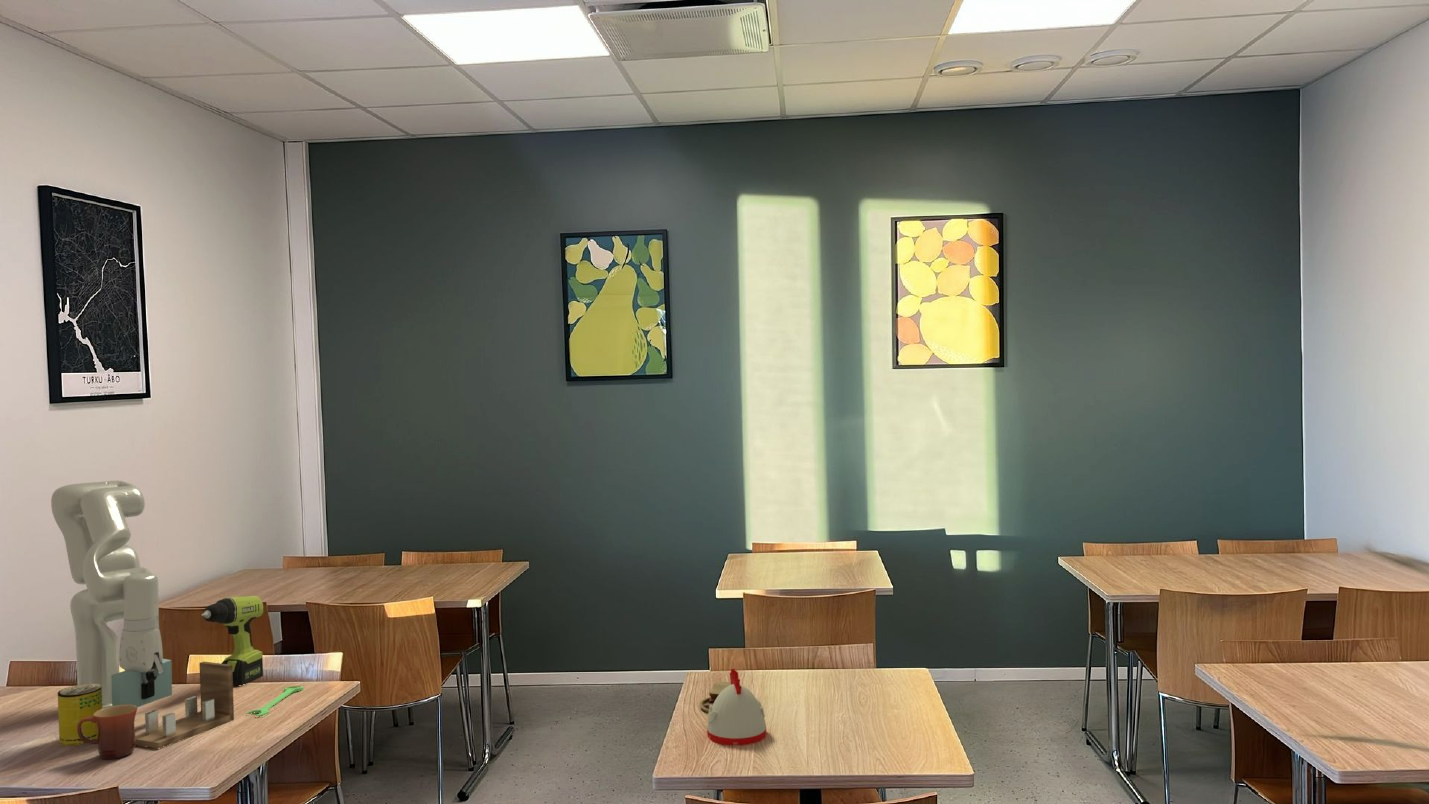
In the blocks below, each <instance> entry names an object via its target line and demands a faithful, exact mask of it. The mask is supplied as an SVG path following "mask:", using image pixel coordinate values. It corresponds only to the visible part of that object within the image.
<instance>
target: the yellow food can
mask: <svg viewBox="0 0 1429 804" xmlns="http://www.w3.org/2000/svg"><path fill="white" fill-rule="evenodd" d="M57 708H58V709H57V710H58V711H57V712H58V716H57V717H58V737H59V738H58V739H59V742H58V743H59V744H60V745H62V746H67V747H68V746H79V744H80V745H84V744H86V743H85V742H83V741H82V740H81V739H80V737H79V736H78V732H77V725H78V722H79V721H80V720H81V719H83V718H85V717H91V716H93V714H94V713H95V712H96V711H98V710H101V709H102V685H100V684H83V685H78V684H77V685H73V686H69V687H65V688H63V689H61V690H59V691H58V692H57ZM82 731H83V734H84V735H85V736H86V737H87V738H90V739H95V738H97V737H98V728H97V725H96V724H95V723H93V722H90V721H86V722H83V723H82Z"/></svg>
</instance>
